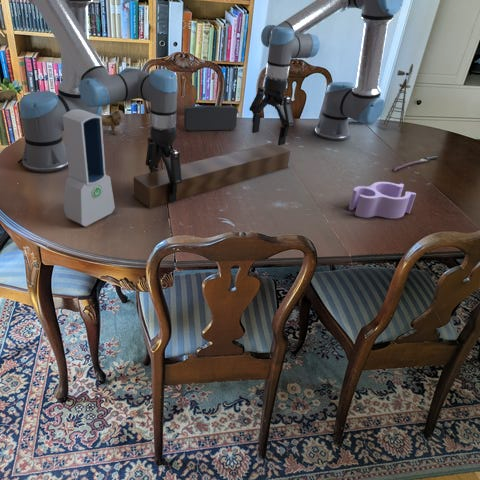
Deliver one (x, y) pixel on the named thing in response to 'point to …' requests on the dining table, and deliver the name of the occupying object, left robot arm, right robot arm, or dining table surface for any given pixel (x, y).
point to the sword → (415, 162)
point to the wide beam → (211, 173)
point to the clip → (381, 200)
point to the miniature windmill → (400, 99)
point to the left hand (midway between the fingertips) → (163, 194)
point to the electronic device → (86, 169)
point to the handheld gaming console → (210, 118)
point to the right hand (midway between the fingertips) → (267, 138)
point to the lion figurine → (113, 120)
